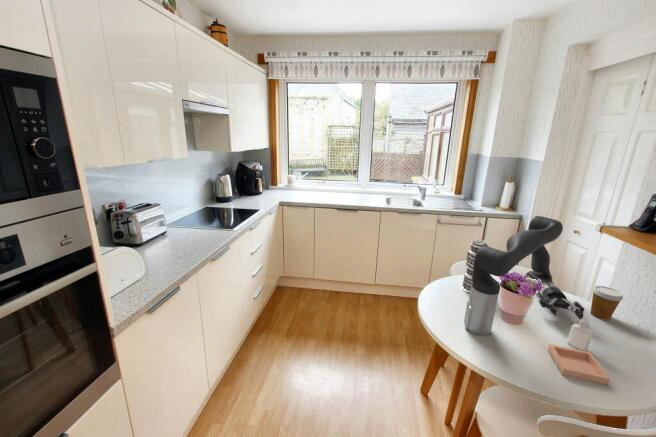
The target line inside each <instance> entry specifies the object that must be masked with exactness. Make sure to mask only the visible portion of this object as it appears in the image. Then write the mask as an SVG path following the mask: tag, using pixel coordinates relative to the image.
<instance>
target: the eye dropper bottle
mask: <svg viewBox="0 0 656 437" xmlns="http://www.w3.org/2000/svg"><path fill="white" fill-rule="evenodd" d="M589 324H590V322H589V321H588V318H587V317H586V316H585V317H584V316H583V318H582V319H579V322H578V323H574V324H572V325H571V327H570V331H569V335H568V337H567V340H566V342H567V344H568V345H569V346H571V347H572V348H573V349H576V350H581V351H586V352H587V350H588V348H589V345H590V343H591V340H592V336H593V332H592V330H591V329H590V328H589Z"/></svg>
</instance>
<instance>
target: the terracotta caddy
mask: <svg viewBox="0 0 656 437" xmlns="http://www.w3.org/2000/svg"><path fill="white" fill-rule="evenodd" d="M547 352H548V354H549V355H550V356H551V358H552V360H553V362H554V364H555V366H556V367H557V369H558V371H559V372H560V374H561V376H565V377H569V378H573V379H577V380H582V381H586V382H591V383H594V384H600V385H603V386H609V384H610V382H611V378H610V376H609V375H608V373H606V371H605V370H604V368H603V367H602V366H601V365H600V363H599V361H598V360H596V357H594V355H593V354H592V353H591V352H589V351H587V350H586V351H581V350H578V349H576V348H570V347H564V346H560V345H555V344H549V343H548V347H547Z"/></svg>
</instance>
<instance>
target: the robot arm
mask: <svg viewBox="0 0 656 437" xmlns="http://www.w3.org/2000/svg"><path fill="white" fill-rule="evenodd" d="M563 230H564V226H563V223H562V222H561V221H559V220H557V219H553V218H550V217H545V216H541V215H535V216H533V217H532V219H531V220H530V222H529V224H528V229H527V230H525V229H524V230H520V231H518V232H516V233H515V234H512V235H511V236H510V237H508V239H507V241H506V243H505V244H506V251H504V250H500V249H497V248H493V247H492V246H491V247H490V246H489V245H488V246H489V247H488V246H482V247H480V248H479V249H478V251H477V253H476V255H475V259H474V267H473V275H472V288H471V293H469V300H467V302H466V309H465V312H464V318H463V319H464V320H463V322H464V323H463V324H464V328H465V330H466V331H470V332H471V333H472V334H476V335H479V336H488V335H490V334H491V332H492V328H493V324H494V318H495V314H496V310H497V309H496V308H497V304H498V301H499V297H500V291H501V284H500V283H499V281H497V280H496V279H495V278H494V277H493V276H495V277H503V276H505V275H507V274H508V273H509V272H510V271H511V270H513V268H514V267H515V266H516V265H517V264H519V263H520V262H521V261H523V260H524V259H525V258H527V257H529V256H530V255H531V261H530V268H531V270H528V271H527V272H526V274H525V276H526V275H527V276H529V277H530V278H532V279H536V280H538V279H540V280H541V282H542V284H543V285H544V287H543V290H542V291H541V292H539V294H540V295H539V296H538V300H537V301H538V303H539V305H540V307H541V308H544V309H546V308H547V310H549V312H550V313H552V314H553V315H557V311H558V309H561V310H565V311H567V312H569V313H573V314H575V316H576V317H577V318H578V319H579V320H581V319H584V315H585V314H584V313H585V310H586V309H585V307H584V306H583V305H581V304H580V302H578V301H574V302H571V301H570V300H568V299H567V296H566V295H565V293H564V291H562V290H561V289H560V288H559V286H558V285H556V284H555V283H554V282H553V276H552V274H551V271H550V263H551V257H550V254H549V251H548V250H547V248H546V246H545V245H547V244H549V243H552V242H554V241H555V240H557V239H558V238H559V237H560V236H561V234H562V232H563Z"/></svg>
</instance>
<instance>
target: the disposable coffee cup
mask: <svg viewBox="0 0 656 437" xmlns="http://www.w3.org/2000/svg"><path fill="white" fill-rule="evenodd" d="M623 299H624V297H623V293H622V292H621V291H619V290H617V289H614V288H612V287H609V286H604V285H595V286H594V288H592V299H591V306H590V315H591V316H593V317H594V318H597V319H600V320H603V321H611V318H612V316H613V314H614V313H615V311H616V309H617V308H618V306H619V304H620V302H621V301H622V300H623Z"/></svg>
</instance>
